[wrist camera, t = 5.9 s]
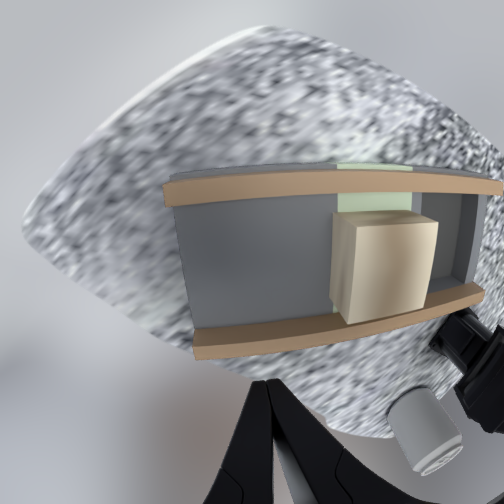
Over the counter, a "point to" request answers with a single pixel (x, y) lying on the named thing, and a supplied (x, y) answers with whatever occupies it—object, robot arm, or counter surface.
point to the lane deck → (310, 248)
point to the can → (424, 430)
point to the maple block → (380, 262)
